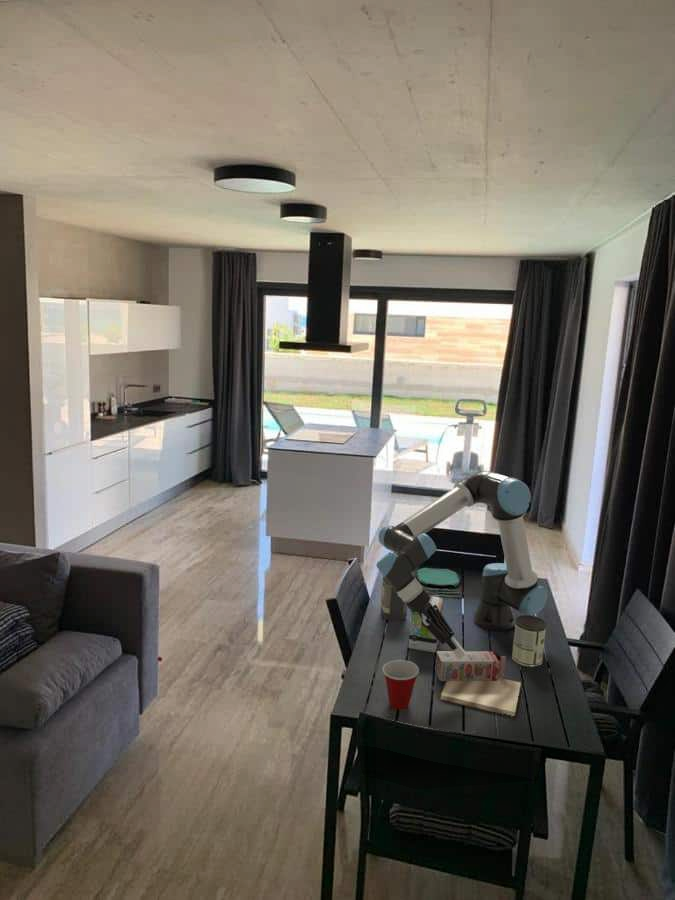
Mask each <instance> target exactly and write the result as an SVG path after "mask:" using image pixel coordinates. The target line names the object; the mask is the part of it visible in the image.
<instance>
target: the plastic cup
mask: <svg viewBox="0 0 675 900" xmlns="http://www.w3.org/2000/svg"><path fill="white" fill-rule="evenodd" d="M382 672H383V675H384V677H385V683H386V689H387V690H386V692H387V695H388V696H387V697H388V704H389V706H390V708H392V709H394V710H397V711H403V710H404V711H405V710H406V709H408V708H409V705H410V702H411V698H412V695H413V691H414V687H415V684H416V683H415V682H416V681H417V676H418V674H419V673H420V669H419V667H418V665H417V664H416V663H414V662H412V661H410V660H409V661H408V660H403V659H395V660H391V661H390V660H389V661H388V662H386V663H385V664H384V665H383V666H382Z"/></svg>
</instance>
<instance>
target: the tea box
mask: <svg viewBox="0 0 675 900" xmlns="http://www.w3.org/2000/svg"><path fill="white" fill-rule="evenodd" d="M430 597H431V599H430V601H429V603H431V604H432V606H434V605H435V604H436V605H437V607H438V609H439V611H440V612H441V614H442V615H443V607H444V605H443V604H444V597H433V596H430ZM421 622H423V619H422V618H421V617H420V615H419V613H418V612H415V613H413V612H412V611H411V621H410V629H409V637H408V649H412V650H418V651H423V652H429V653H430V652H431V653H437V647H438V643H439V640H438V639H437V638H436V637H435V636H434V635H433V634H432V633H431V632H430V631H429V630H428V629H427V628H426V627H424V626H423V625H422V624H421Z"/></svg>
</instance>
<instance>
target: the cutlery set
mask: <svg viewBox="0 0 675 900" xmlns="http://www.w3.org/2000/svg"><path fill="white" fill-rule="evenodd" d="M416 570H417V569H416ZM415 578H416V580H417V581H418V582H419V583H420V584H423V585H425V586H426V585H429V586H433V587H451V586H454V588H457V587H458V586H459V584H460V581H461V577H460V575H459V574H457V572H456V571H454V570H450V569H448V568H437V567H423V568H420V569H418V570H417V571H416V573H415ZM456 586H457V587H456ZM426 589H427V590H425V591H426V592H428V593H430V594H429V595H432V596H433V597H439V598H448V597H451V599H455V598H456V599H462V595H461V592H460V590H453V589H448V588H442V589H441V588H428V587H427V588H426ZM438 590H441V591H438ZM429 591H435V592H434V593H436V592H438V593H436V594H433V592H429ZM439 593H443V594H439ZM445 594H446V595H445ZM448 594H452V595H448Z"/></svg>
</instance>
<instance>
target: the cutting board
mask: <svg viewBox="0 0 675 900" xmlns="http://www.w3.org/2000/svg"><path fill="white" fill-rule="evenodd" d="M521 685H522V682H520V681H515V680H510V679H506V678H503V677H499V678H498V680H497V681H445V684H444V687H443V689H442V691H441V694H440V700H444V701H447V702H451V703H455V704H459V705H463V706H467V707H471V708H475V709H476V708H477V709H480V710H484V711H488V712H492V713H497V714H500V713H501V715H504V714H507V715H506V716H508V715H511V716H510V717H513V716H516V712H517V706H518V702H519V697H518V696H520V691H521Z"/></svg>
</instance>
